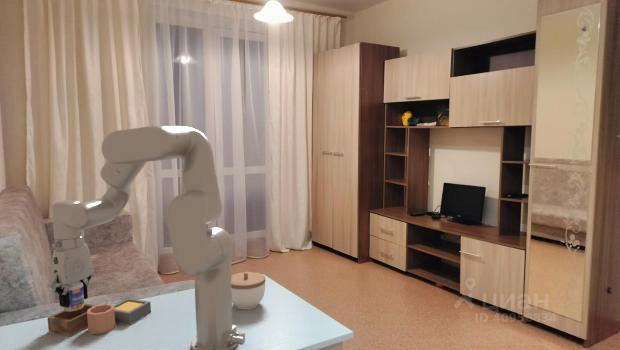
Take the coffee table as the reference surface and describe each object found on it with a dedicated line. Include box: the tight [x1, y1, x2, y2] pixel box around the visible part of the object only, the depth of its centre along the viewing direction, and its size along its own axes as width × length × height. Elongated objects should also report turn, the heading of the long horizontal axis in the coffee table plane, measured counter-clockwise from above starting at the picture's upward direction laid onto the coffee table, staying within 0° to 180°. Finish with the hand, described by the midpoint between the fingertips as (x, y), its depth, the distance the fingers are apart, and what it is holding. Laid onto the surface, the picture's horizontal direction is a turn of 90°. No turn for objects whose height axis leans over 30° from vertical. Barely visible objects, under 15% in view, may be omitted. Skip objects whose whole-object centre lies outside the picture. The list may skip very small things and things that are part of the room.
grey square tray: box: [113, 297, 152, 325], centre depth 129 cm, size 9×9×4 cm
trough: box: [47, 302, 97, 337], centre depth 123 cm, size 8×11×4 cm
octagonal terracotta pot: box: [87, 303, 116, 335], centre depth 121 cm, size 7×7×6 cm
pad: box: [114, 301, 142, 312], centre depth 129 cm, size 6×6×1 cm
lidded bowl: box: [231, 271, 266, 311], centre depth 136 cm, size 13×13×11 cm
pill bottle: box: [62, 281, 85, 312], centre depth 123 cm, size 5×5×10 cm
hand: (74, 301), depth 123 cm, fingers closed on pill bottle, 5 cm apart
